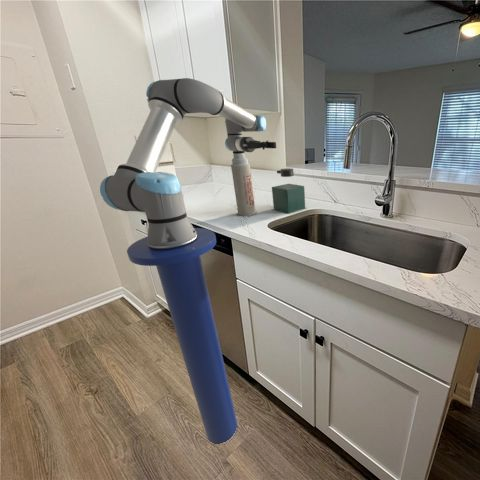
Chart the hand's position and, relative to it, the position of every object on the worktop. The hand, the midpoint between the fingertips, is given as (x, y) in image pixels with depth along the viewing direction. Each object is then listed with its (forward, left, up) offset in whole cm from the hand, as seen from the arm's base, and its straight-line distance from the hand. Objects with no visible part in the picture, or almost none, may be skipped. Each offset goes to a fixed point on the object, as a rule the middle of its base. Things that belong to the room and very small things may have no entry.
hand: (274, 145), depth 121 cm
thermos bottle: (-8, -16, -30) cm, 35 cm away
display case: (-73, -9, -30) cm, 79 cm away
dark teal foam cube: (+7, -2, -29) cm, 30 cm away
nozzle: (+5, -2, -13) cm, 15 cm away
